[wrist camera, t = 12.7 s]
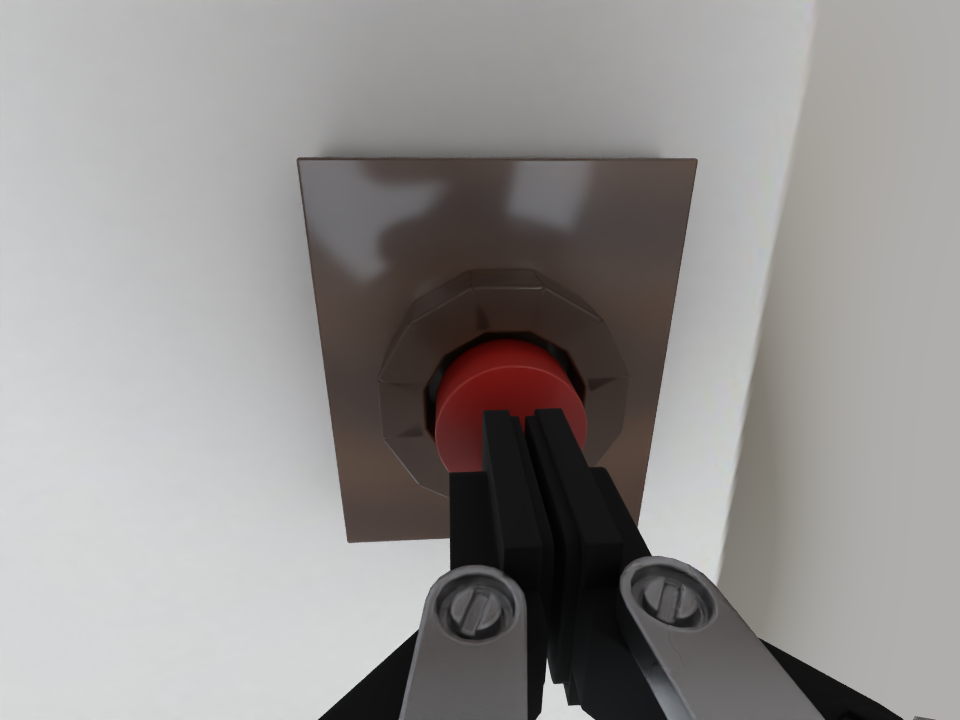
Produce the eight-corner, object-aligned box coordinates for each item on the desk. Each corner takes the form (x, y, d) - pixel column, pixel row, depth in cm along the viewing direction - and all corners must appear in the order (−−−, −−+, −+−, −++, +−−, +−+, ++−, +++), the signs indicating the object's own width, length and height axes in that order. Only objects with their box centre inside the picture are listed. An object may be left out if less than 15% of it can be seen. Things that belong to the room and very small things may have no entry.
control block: (317, 157, 14) (270, 157, 10) (663, 157, 14) (739, 159, 11) (357, 501, 18) (336, 587, 15) (617, 490, 19) (658, 571, 15)
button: (433, 339, 12) (432, 367, 11) (575, 336, 12) (594, 363, 11) (438, 460, 14) (437, 501, 12) (565, 455, 14) (581, 495, 12)
